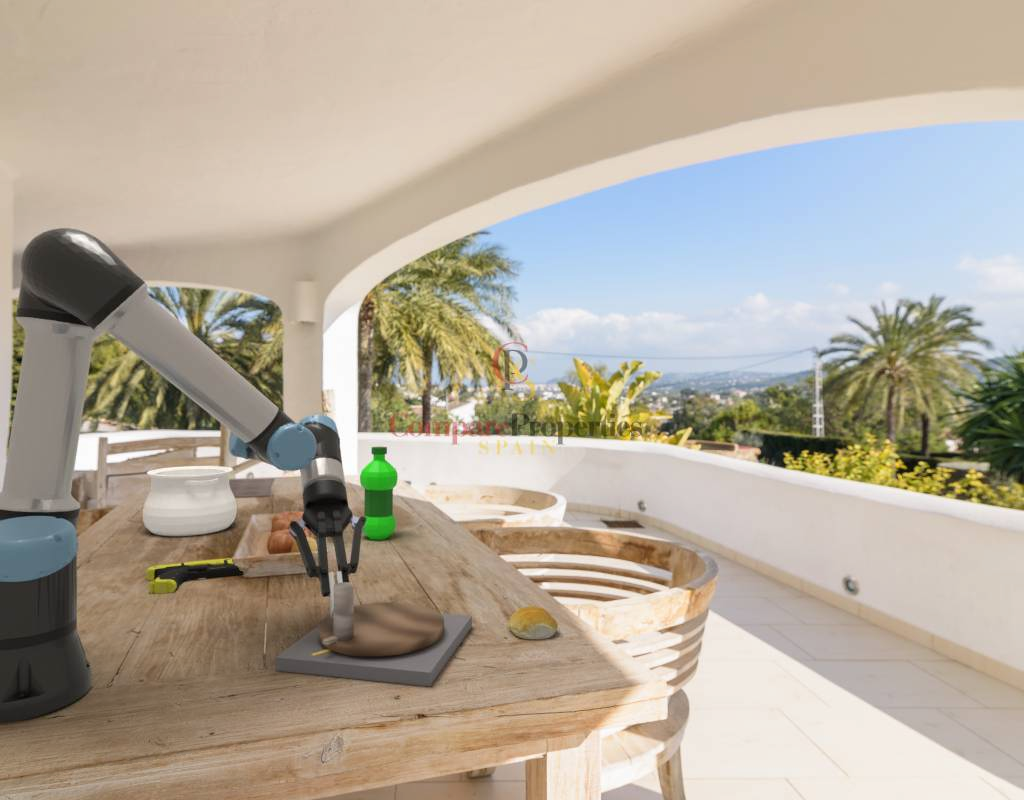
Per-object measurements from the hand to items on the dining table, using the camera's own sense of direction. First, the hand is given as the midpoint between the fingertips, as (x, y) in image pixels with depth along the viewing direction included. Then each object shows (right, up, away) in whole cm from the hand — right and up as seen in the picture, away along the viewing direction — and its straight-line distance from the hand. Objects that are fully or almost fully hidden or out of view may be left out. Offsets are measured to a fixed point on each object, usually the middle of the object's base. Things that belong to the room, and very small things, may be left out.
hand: (338, 612), depth 105 cm
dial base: (+6, -7, +4) cm, 10 cm away
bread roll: (+31, -7, +12) cm, 34 cm away
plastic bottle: (-10, -5, +81) cm, 81 cm away
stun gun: (-41, -6, +39) cm, 57 cm away
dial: (+6, -4, +4) cm, 9 cm away
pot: (-65, -4, +88) cm, 110 cm away
